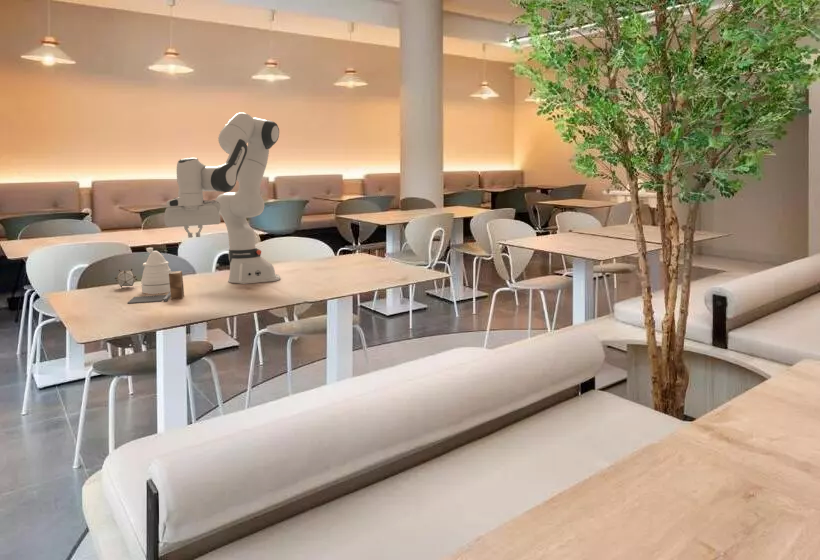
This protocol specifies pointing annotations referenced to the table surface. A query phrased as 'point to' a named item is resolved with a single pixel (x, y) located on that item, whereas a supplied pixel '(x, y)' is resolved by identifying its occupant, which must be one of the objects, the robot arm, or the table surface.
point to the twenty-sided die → (126, 278)
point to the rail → (167, 297)
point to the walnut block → (176, 285)
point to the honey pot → (155, 274)
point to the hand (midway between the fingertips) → (194, 237)
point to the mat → (147, 299)
